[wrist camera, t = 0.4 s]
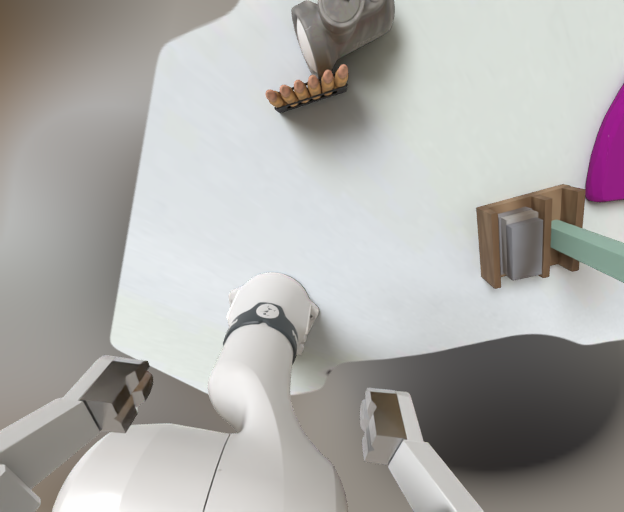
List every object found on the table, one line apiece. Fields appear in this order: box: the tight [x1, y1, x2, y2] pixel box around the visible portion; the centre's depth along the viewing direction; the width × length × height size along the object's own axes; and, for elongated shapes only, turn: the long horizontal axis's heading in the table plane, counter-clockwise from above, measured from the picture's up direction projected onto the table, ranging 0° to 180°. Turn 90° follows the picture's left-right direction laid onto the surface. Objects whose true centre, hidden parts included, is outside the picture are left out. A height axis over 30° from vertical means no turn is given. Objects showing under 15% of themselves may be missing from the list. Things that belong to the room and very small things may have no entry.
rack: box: [476, 184, 586, 289], centre depth 45 cm, size 14×14×4 cm
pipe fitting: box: [292, 0, 395, 79], centre depth 33 cm, size 12×8×10 cm
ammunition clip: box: [266, 64, 348, 113], centre depth 35 cm, size 11×2×12 cm, turn 106°
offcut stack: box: [498, 207, 543, 280], centre depth 44 cm, size 5×11×4 cm, turn 17°
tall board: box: [551, 220, 624, 283], centre depth 36 cm, size 2×4×20 cm
